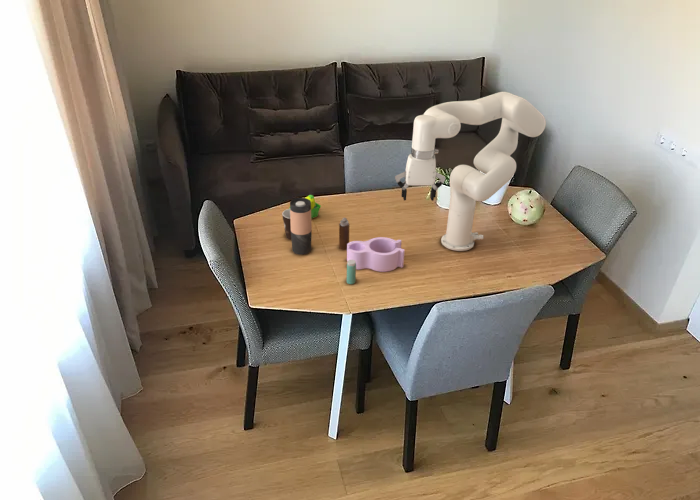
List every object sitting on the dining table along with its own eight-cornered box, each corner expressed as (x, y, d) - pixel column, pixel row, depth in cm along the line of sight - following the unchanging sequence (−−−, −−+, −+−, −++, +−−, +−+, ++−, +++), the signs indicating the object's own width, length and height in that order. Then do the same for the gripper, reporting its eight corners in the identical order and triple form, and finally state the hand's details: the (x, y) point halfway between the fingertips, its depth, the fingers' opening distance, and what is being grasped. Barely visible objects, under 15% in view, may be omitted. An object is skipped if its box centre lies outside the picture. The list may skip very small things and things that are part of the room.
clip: (349, 272, 208) (349, 256, 204) (345, 254, 219) (346, 238, 215) (404, 270, 210) (406, 254, 206) (398, 252, 221) (400, 236, 217)
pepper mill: (348, 244, 225) (349, 215, 218) (349, 249, 222) (350, 220, 215) (338, 245, 224) (338, 215, 218) (339, 250, 221) (339, 220, 215)
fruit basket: (310, 210, 248) (309, 185, 243) (323, 217, 243) (323, 192, 237) (288, 218, 242) (287, 193, 236) (302, 226, 236) (301, 201, 230)
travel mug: (315, 247, 222) (314, 200, 212) (305, 257, 217) (304, 208, 206) (297, 242, 225) (296, 195, 215) (287, 252, 219) (285, 204, 209)
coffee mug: (301, 242, 225) (301, 219, 220) (280, 240, 227) (279, 217, 221) (309, 228, 235) (309, 206, 230) (288, 225, 236) (288, 203, 231)
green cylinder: (355, 278, 205) (355, 258, 201) (356, 284, 202) (356, 264, 198) (345, 279, 205) (346, 259, 200) (346, 284, 202) (347, 264, 198)
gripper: (446, 149, 200) (440, 194, 209) (395, 148, 199) (392, 194, 208) (450, 157, 194) (444, 204, 203) (397, 156, 193) (394, 203, 202)
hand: (418, 198), depth 205 cm, fingers open, 9 cm apart
